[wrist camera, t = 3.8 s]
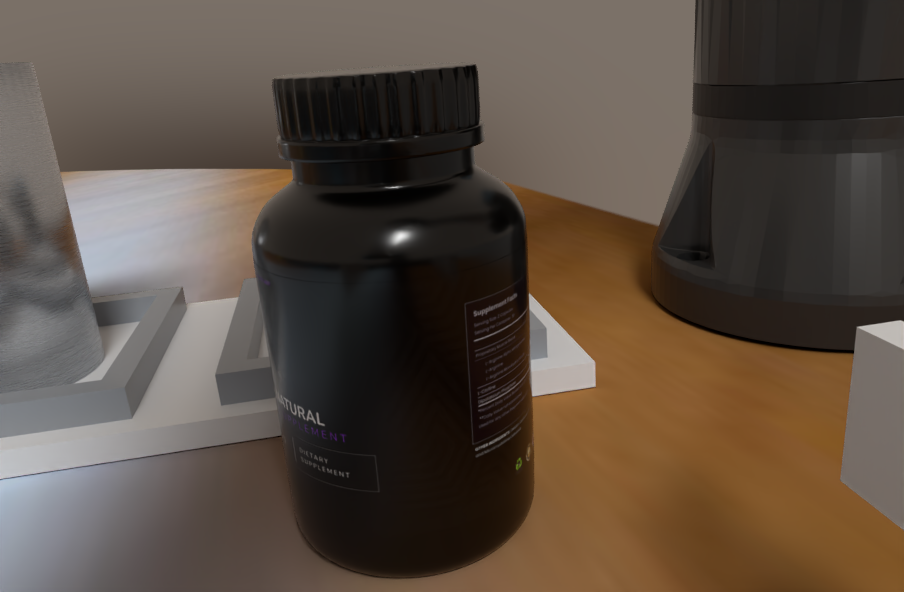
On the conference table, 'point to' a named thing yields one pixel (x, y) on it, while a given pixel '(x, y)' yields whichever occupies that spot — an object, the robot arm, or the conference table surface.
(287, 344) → the supplement bottle
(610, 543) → the conference table surface
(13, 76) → the cylinder
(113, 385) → the pallet
